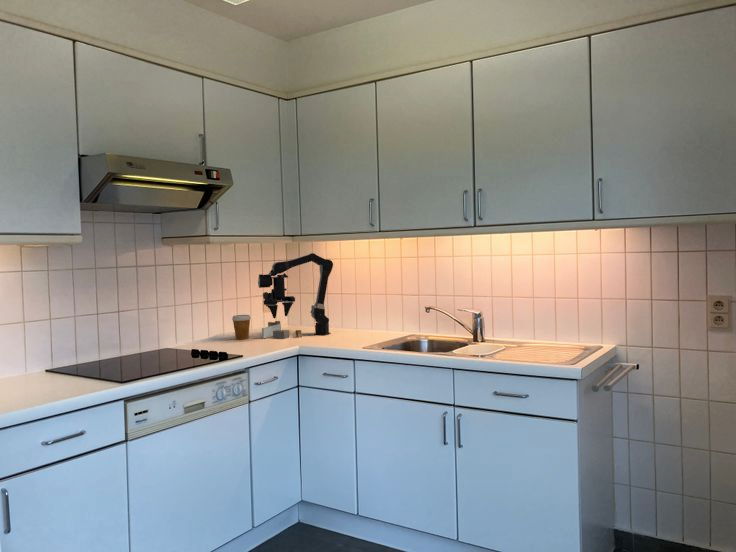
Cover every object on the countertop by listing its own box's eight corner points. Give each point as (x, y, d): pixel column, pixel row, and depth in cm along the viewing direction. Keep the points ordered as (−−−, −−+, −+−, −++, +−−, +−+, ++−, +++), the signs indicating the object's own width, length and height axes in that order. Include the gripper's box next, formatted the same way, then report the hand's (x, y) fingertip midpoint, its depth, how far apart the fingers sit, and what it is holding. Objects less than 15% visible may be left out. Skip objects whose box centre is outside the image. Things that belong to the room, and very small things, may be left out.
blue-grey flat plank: (279, 333, 338) (279, 323, 338) (281, 333, 338) (281, 323, 337) (262, 338, 324) (261, 327, 324) (264, 338, 324) (263, 327, 323)
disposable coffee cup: (253, 337, 331) (252, 314, 330) (248, 340, 321) (247, 316, 321) (236, 337, 332) (235, 314, 331) (230, 340, 322) (229, 317, 322)
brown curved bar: (267, 333, 344) (267, 320, 344) (271, 332, 346) (270, 319, 345) (298, 337, 324) (297, 323, 324) (301, 336, 326) (301, 323, 325)
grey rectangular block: (289, 337, 326) (289, 330, 325) (284, 339, 322) (284, 331, 322) (278, 337, 329) (278, 329, 329) (273, 338, 325) (273, 330, 325)
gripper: (278, 285, 336) (279, 314, 337) (254, 288, 320) (256, 318, 321) (295, 285, 330) (296, 315, 331) (271, 288, 314) (273, 319, 315)
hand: (280, 317), depth 325 cm, fingers open, 9 cm apart
